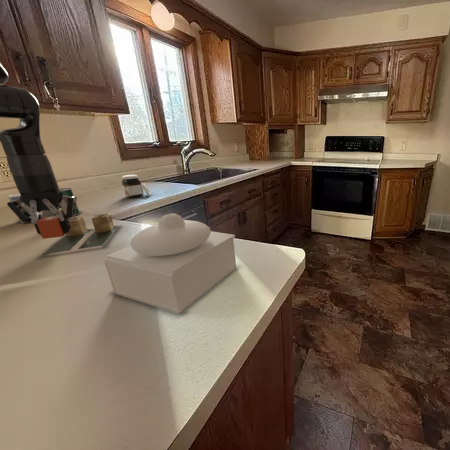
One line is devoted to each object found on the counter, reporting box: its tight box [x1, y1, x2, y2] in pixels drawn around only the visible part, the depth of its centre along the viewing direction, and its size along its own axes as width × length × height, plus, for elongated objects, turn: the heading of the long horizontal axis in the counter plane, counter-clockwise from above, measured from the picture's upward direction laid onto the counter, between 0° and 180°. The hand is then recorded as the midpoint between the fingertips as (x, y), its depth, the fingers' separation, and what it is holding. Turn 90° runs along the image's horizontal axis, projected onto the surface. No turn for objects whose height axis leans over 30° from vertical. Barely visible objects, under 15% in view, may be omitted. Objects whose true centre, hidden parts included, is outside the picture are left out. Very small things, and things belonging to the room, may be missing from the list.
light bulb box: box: [7, 193, 55, 225], centre depth 97 cm, size 11×7×11 cm, turn 143°
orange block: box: [37, 216, 66, 240], centre depth 68 cm, size 4×4×5 cm
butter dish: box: [103, 213, 237, 315], centre depth 52 cm, size 18×18×16 cm
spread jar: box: [121, 174, 152, 199], centre depth 134 cm, size 12×11×12 cm
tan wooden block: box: [91, 213, 115, 233], centre depth 82 cm, size 4×4×5 cm
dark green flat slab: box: [43, 225, 118, 255], centre depth 77 cm, size 14×20×1 cm
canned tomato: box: [54, 187, 81, 217], centre depth 101 cm, size 8×8×11 cm
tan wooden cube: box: [65, 216, 88, 237], centre depth 80 cm, size 4×4×5 cm
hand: (55, 233), depth 69 cm, fingers closed on orange block, 4 cm apart
